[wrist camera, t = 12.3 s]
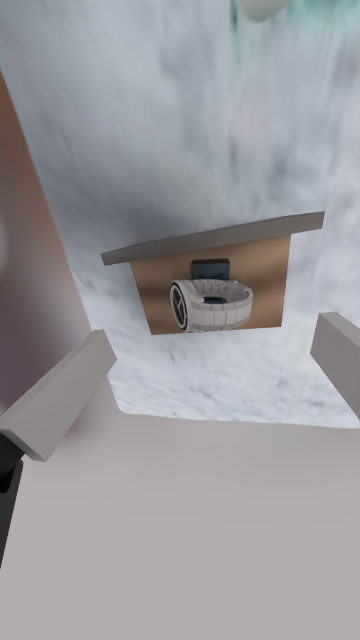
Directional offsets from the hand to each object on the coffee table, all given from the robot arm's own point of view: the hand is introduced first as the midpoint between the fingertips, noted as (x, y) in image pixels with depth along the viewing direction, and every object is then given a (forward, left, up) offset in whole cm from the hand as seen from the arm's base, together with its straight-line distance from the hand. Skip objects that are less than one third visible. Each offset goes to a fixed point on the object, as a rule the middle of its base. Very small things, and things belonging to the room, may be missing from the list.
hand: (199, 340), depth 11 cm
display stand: (+1, 0, -16) cm, 16 cm away
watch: (0, 0, -14) cm, 14 cm away
